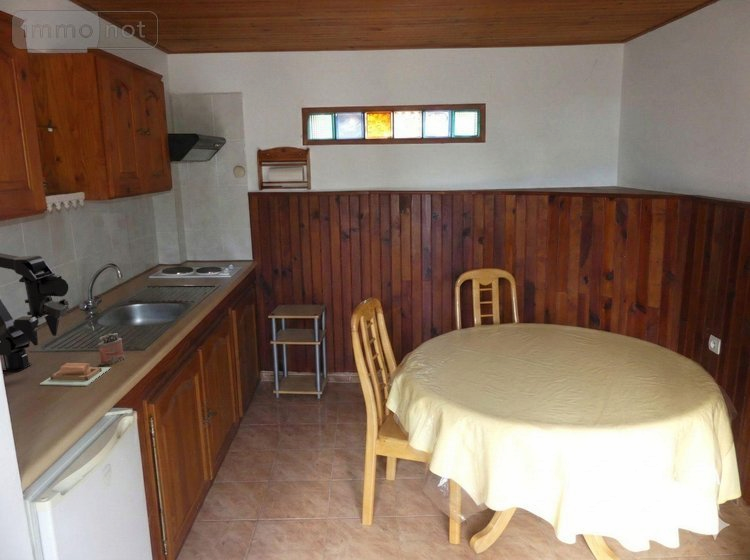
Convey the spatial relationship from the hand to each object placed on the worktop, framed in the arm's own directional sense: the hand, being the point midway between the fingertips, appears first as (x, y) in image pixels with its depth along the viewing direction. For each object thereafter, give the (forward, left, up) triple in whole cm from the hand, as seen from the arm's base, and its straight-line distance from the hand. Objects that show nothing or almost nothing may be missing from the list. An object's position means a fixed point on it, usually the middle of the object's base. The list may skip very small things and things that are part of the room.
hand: (45, 340), depth 193 cm
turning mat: (+12, -4, -11) cm, 17 cm away
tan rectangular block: (+12, -4, -11) cm, 16 cm away
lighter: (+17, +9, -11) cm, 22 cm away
